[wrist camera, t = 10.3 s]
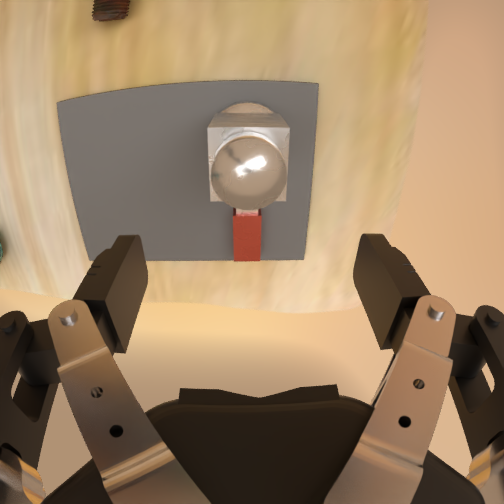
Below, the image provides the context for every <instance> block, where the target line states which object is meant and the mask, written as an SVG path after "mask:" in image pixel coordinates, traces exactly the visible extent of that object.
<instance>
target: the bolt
mask: <svg viewBox="0 0 504 504" xmlns="http://www.w3.org/2000/svg"><path fill="white" fill-rule="evenodd" d="M129 2H130V1H129V0H94V3H95V4H94V5H93V6H94V8H93V10H94V11H93V12H92V13H94V14H93V15H92V16H93V20H94V21H96V20H99V21H108V20H118V19H124V18H125V17H126V16H127V15H128V14H126V13H127V12H129V11H127V9H129V8H128V7H127V6H129V4H128V3H129Z"/></svg>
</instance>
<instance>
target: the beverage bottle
mask: <svg viewBox="0 0 504 504" xmlns="http://www.w3.org/2000/svg"><path fill="white" fill-rule="evenodd" d="M2 256H3V251H2V246H1V243H0V261H1V259H2ZM0 263H1V262H0Z"/></svg>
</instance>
